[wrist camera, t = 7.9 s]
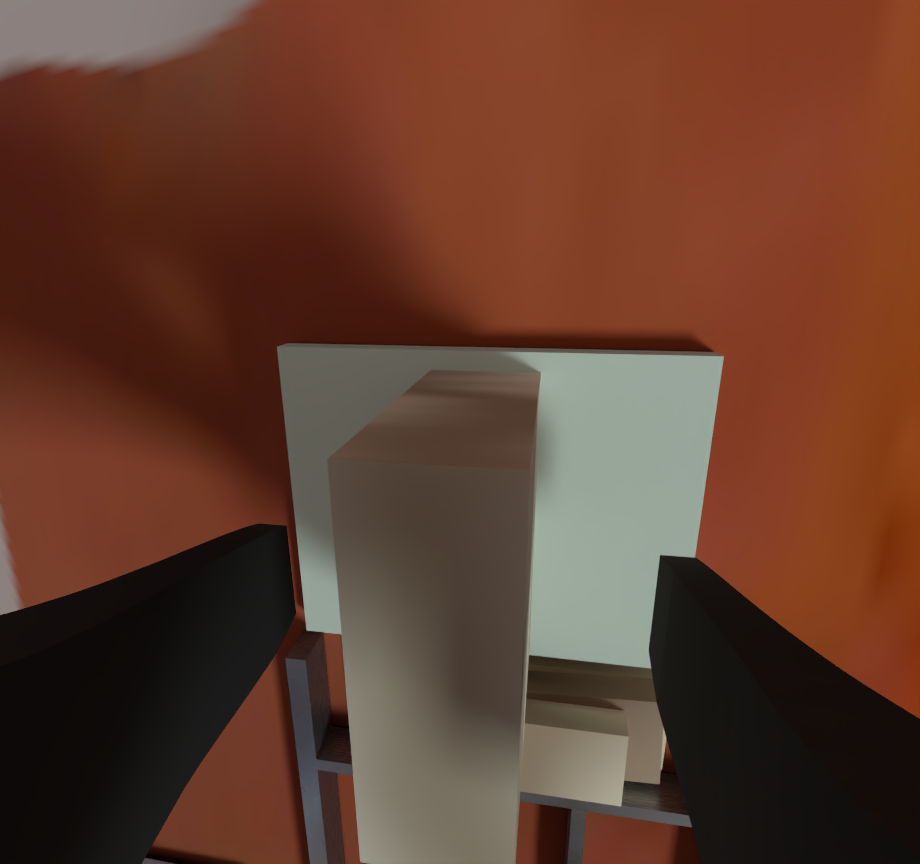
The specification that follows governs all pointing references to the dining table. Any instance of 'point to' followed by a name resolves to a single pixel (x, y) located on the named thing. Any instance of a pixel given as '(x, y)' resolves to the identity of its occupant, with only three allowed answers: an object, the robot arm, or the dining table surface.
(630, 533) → the sage mat
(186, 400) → the dining table surface
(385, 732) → the tall beige block
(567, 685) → the offcut stack
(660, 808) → the metal rack
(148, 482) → the dining table surface
